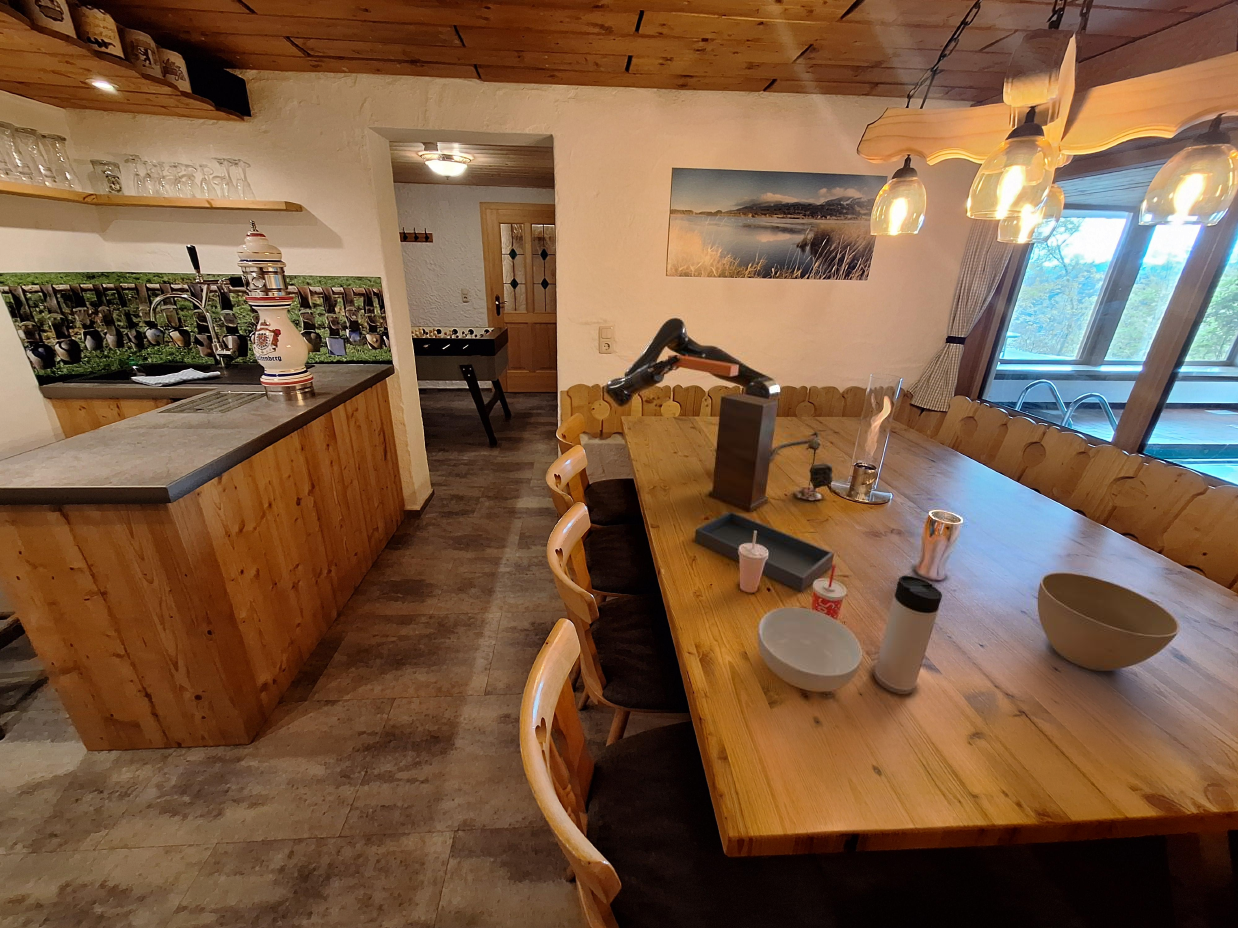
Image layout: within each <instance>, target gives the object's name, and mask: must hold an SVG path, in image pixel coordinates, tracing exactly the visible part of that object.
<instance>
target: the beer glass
mask: <svg viewBox="0 0 1238 928" xmlns="http://www.w3.org/2000/svg"><path fill="white" fill-rule="evenodd" d="M963 523H964V521H963V518H962V517H960V516H959V515H957V514H956V513H953V512H949V511H946V510H940V509H939V510H938V509H937V510H935V509H934V510H931V511H929V512H928V515H927V518H926V520H925V523H924V526H923V530H922V534H921V549H920V556H919V560H918V561H917V563H916V565H915V567H914V571H915V573H917V574H918V575H919V576H921V577H922V578H925V579H928V580H931V581H941V580H944V579H945V577H946V566H947V563H948V561H949V559H950V558H951V555H952V554H953V552H954V550H955V548H956V546H957V545H958V542H959V538H960V535H961V532H962V527H963Z"/></svg>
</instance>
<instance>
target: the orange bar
mask: <svg viewBox="0 0 1238 928" xmlns="http://www.w3.org/2000/svg"><path fill="white" fill-rule="evenodd" d="M675 355H676V354H669V355H667V359H669V358H671V357H673V356H675ZM677 355H678V357H679V362H677V363H675V364H673V365H672V366H676V367H680V368H682V369H685V370H687V369H688V370H693V371H697V372H698V371H699V372H702V373H708V374H710V373H713V374H719V375H724V376H729V377H730V376H735V375H738V367H739V365H737V364H730V363H724V362H718V361H712V360H706V359H700V358H694V357H688V356H682V355H679V354H677Z"/></svg>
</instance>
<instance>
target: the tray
mask: <svg viewBox="0 0 1238 928" xmlns="http://www.w3.org/2000/svg"><path fill="white" fill-rule="evenodd" d="M754 531H757V534H756V541H755V544H759V545H761V546H763V547H765V548H766V549H767V550H768V558H767V559H766V561H765V564H764V567H763V571H762V574H761V575H764V576H767V577H768V578H770V579H772V580H775V581H777V582H779V583H781V584H783V585H785V586H788V587H790V588H791V589H793V590H795V591H798V592H800V593H802V592H803V591H804V590H805V589H806V588H807V587H809V586H810V585H811V584H813V582H814V581H815V580H817V579H819V578H820V577H821V575H823V574H824V573H825V572H826V571H827V570H828V569H829V568H832V566H833V563H834V556H835V552H833V551H831V550H828V549H826V548H823V547H821V546H818V545H816V544H813V543H811V542H808V541H806V540H803V539H801V538H798V537H795V536H793V535H791V534H788V533H786V532H783V531H781V530H779V529H776V528H773V527H771V526H768V525H766V524H763V523H761V522H758V521H756V520H754V519H751V518H748V517H746V516H744V515H741V514H739V513H736V512H733V511H731V510H730V511H728V512H726V513H724V514H722V515H721V516H719V517H717V518H715V519H713V520H711V521H709V522H707V523H705V524H703V525H702V526H699V527H697V528H695V534H694V542H695V543H697V544H700V545H702V546H703V547H705V548H708V549H710V550H712V551H714V552H716V553H718V554H720V555H723V556H725V557H727V558H729V559H731V560H733V561H735V562H737V563H739V564H740V560H739V554H738V550H739V546H740V545H742V544H745V543H753V536H754Z"/></svg>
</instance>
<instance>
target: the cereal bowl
mask: <svg viewBox="0 0 1238 928" xmlns="http://www.w3.org/2000/svg"><path fill="white" fill-rule="evenodd" d="M756 639H757V647H758V650H759V654H760V656H761V658H762V660H763V662H764V663H765V664H766V666H767V667H768V668H769V669H770V670H771V671H772V673H774V675H776V676H777V677H778V678H779V679H781V680H783V681H784V682H785V683H787V684H789V685H792V686H793V687H796V688H799V689H802V690H806V691H811V692H820V693H821V692H822V693H823V692H831V691H836V690H838V689H840V688H843V687H845V686H847V685H848V684H849V683H850V682H851V681H852V680H853V679H854V678H855V677H856V675H857V673H858V671H859V668H860V666H861V663H862V660H863V650H862V647H861V644H860V642H859V640H858V639H857V637H856V635H854V633H853V632H852V631H851V630H850V629H849V628H848V627H847V626H845V625H844V624H843V623H841V622H840V621H839V620H838V619H837V620H835V619H833V618H832V617H830V616H828V615H826V614H823V613H821V612H818V611H815V610H811V608H806V607H800V606H785V607H784V606H783V607H778V608H775V609H773V610H770V611H768V612H767V613H766V614H764V615H763V617H762V618H761V619H760V621H759V623H758V626H757V637H756Z"/></svg>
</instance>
